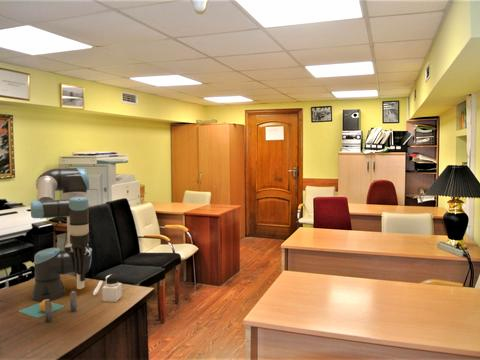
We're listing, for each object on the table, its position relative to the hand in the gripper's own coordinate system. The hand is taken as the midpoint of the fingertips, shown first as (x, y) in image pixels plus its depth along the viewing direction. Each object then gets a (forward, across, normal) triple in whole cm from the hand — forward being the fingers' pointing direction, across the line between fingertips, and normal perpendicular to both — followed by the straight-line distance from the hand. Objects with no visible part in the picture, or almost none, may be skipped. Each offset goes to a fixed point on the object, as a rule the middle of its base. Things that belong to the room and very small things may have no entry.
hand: (80, 287), depth 166 cm
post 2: (+15, +13, -6) cm, 21 cm away
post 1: (+15, +13, +6) cm, 21 cm away
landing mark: (+15, +27, 0) cm, 31 cm away
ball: (+13, +23, 0) cm, 26 cm away
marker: (+16, +24, -30) cm, 42 cm away
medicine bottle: (+16, +8, -25) cm, 31 cm away
